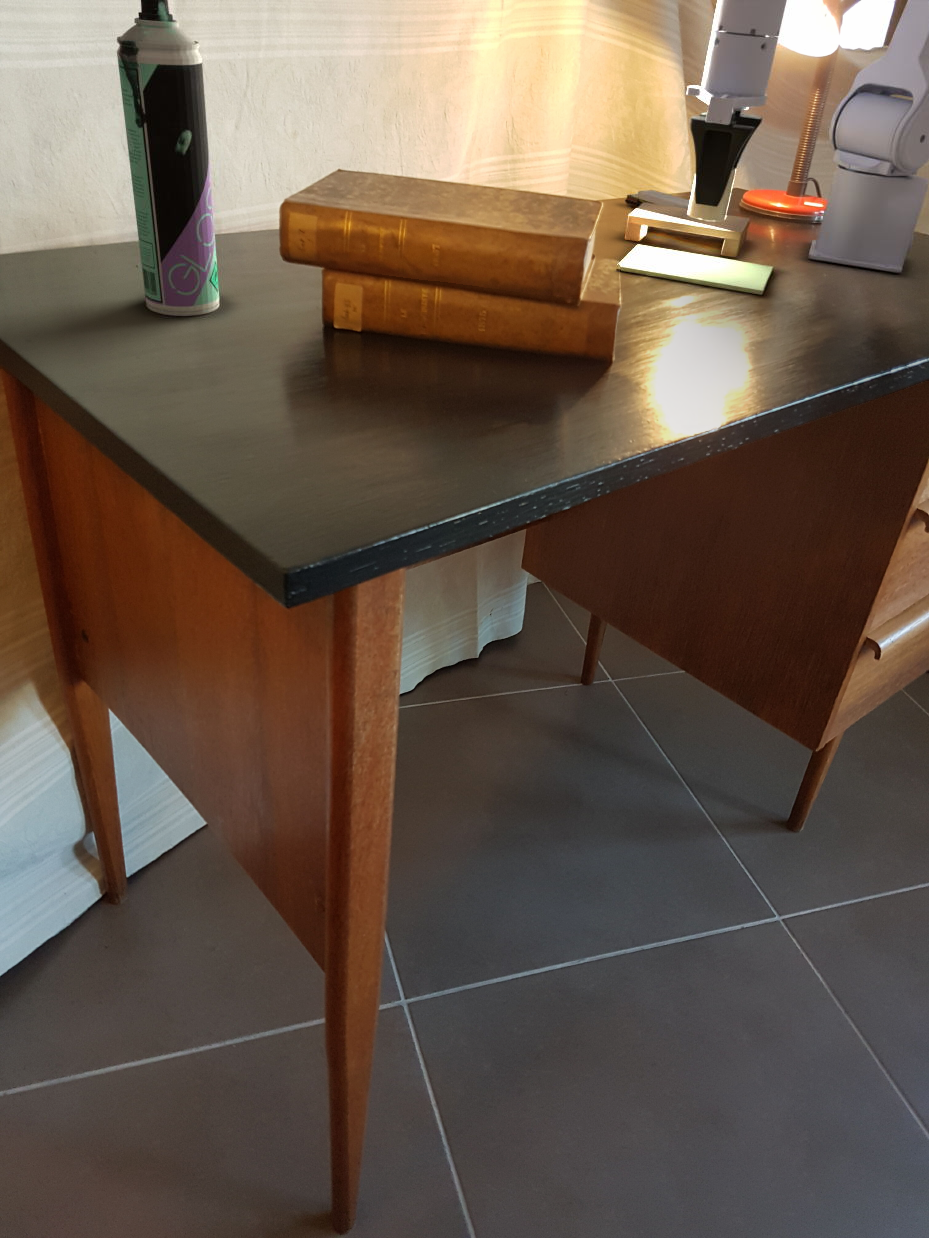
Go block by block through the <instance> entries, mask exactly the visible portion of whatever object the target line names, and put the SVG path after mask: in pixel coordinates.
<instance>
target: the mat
mask: <svg viewBox="0 0 929 1238" xmlns="http://www.w3.org/2000/svg"><path fill="white" fill-rule="evenodd" d="M618 264H619V265H620V270H621V271H620V270H619V271H620V272H625V273H626V272H627V273H632V274H633V273H634V274H638V275H645V276H648V277H649V276H650V277H656V278H661V279H668V280H673V281H679V282H685V283H690V284H695V285H696V284H697V285H702V286H706V287H707V286H709V287H714V288H720V289H725V290H732V291H737V292H742V293H749V294H755V295H760V296H762V295H763V293H764V291H765V288H766V286H767V284H768V281H769V279H770V277H771V274H772V272H773V268H774V266H773V265H772V266H771V265H765V264H759V263H754V262H747V261H741V260H736V259H728V258H723V257H717V256H711V255H704V254H698V253H692V252H687V251H682V250H681V251H680V250H674V249H668V248H662V247H655V246H650V245H643V244H637V245H635V247H634V248H632V250H631V251H630V252H628V253H627V254H626V256H625V257H623V259H621V261H619V262H618Z"/></svg>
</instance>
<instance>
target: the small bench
mask: <svg viewBox="0 0 929 1238" xmlns="http://www.w3.org/2000/svg"><path fill="white" fill-rule="evenodd" d="M750 223H751V218H749V217H743V216H737V215H730V214H729V215H728V214H726V218H725V220H722V221H708V220H701V219H697V218H693V217H691V216H689V215H688V209H685V208H678V207H672V206H665V205H659V204H652V203H646V202H644V203H642V204H641V205H640V206H639V207H638V208H636V207H635V209H634V210H633V211H632V212H630V213H629V214H628V216H627V223H626V228H625V235H624V240H627V241H631V242H632V241H633V242H640V241H641V240H642V239H643V238H644V237H645V236H647V234H648V233H650V232H651V230H652V229H653V228H657V229H658V228H659V229H665V230H671V231H677V232H683V233H689V234H690V233H691V234H696V235H702V236H709V237H715V238H720V239H724V240H723V244H722V248H721V253H720V255H721V256H724V257H730V258H737V257H738V255H739V253H740V252H741V250H742V249H743V247H744V244H745V243H746V240H747V236H748V231H749V227H750Z"/></svg>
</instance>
